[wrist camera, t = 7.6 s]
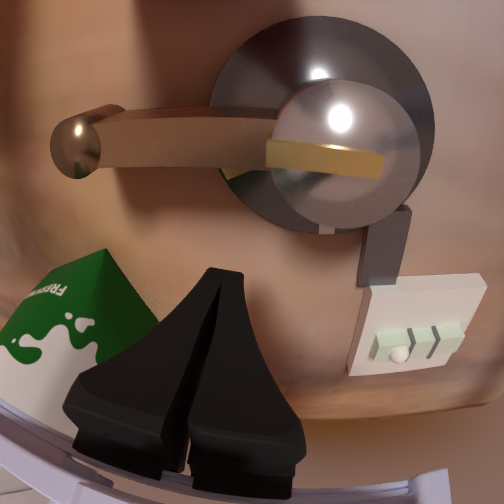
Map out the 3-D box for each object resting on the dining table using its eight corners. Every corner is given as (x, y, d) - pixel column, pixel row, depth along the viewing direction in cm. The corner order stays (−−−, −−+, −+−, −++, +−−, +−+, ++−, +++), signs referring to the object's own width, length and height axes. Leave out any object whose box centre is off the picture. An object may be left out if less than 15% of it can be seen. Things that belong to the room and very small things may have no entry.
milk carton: (107, 232, 18) (-51, 531, 1) (175, 328, 22) (105, 581, 6) (40, 263, 20) (-80, 465, 4) (100, 338, 24) (26, 528, 8)
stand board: (478, 272, 17) (499, 306, 14) (440, 351, 22) (450, 383, 19) (367, 277, 18) (379, 318, 15) (346, 361, 23) (351, 397, 20)
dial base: (431, 34, 9) (441, 32, 8) (403, 276, 17) (408, 287, 17) (199, 25, 11) (193, 22, 10) (231, 278, 19) (228, 290, 18)
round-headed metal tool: (388, 88, 11) (437, 102, 7) (371, 188, 14) (403, 241, 10) (92, 83, 12) (27, 100, 8) (101, 173, 14) (49, 215, 10)
